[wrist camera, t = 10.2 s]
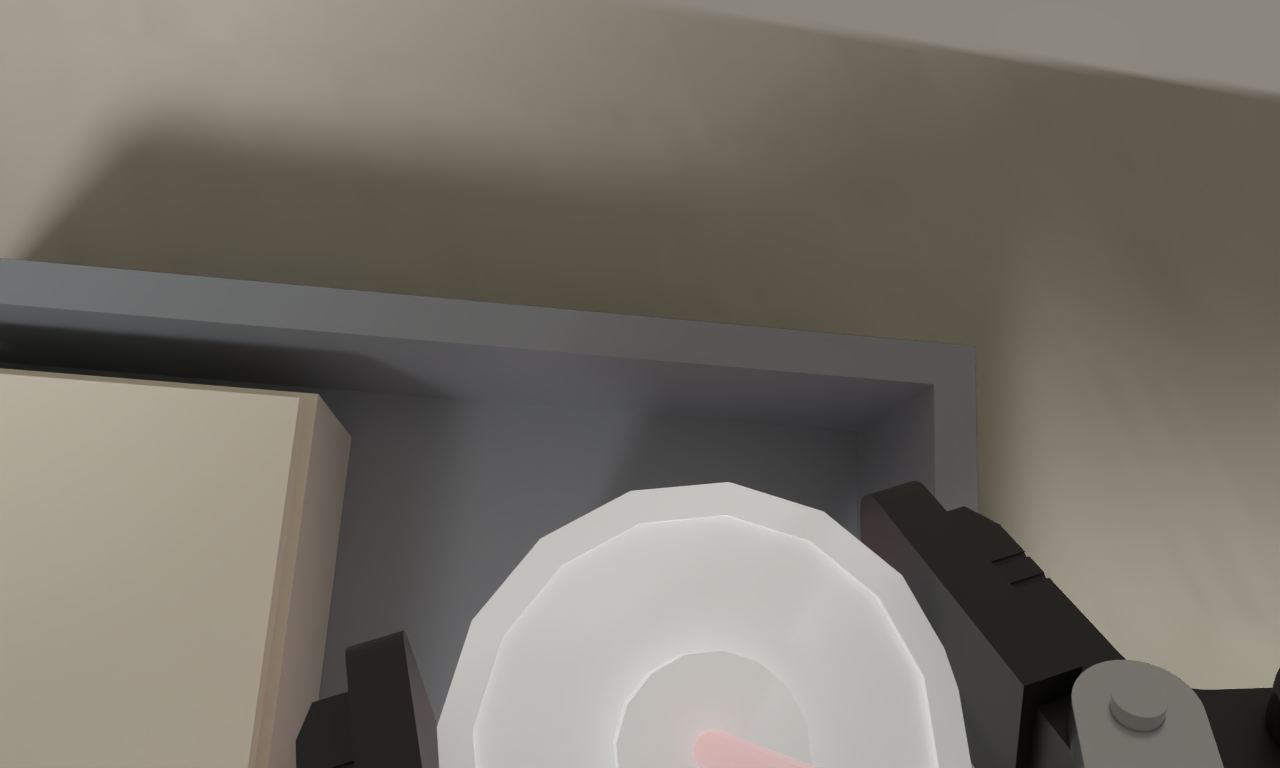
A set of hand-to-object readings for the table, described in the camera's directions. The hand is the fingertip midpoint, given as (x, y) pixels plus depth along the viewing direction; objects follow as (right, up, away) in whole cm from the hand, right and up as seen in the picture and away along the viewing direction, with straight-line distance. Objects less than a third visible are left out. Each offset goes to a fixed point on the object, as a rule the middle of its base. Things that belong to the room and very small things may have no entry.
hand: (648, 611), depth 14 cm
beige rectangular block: (-10, -3, +7) cm, 13 cm away
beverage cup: (0, -3, +7) cm, 8 cm away
